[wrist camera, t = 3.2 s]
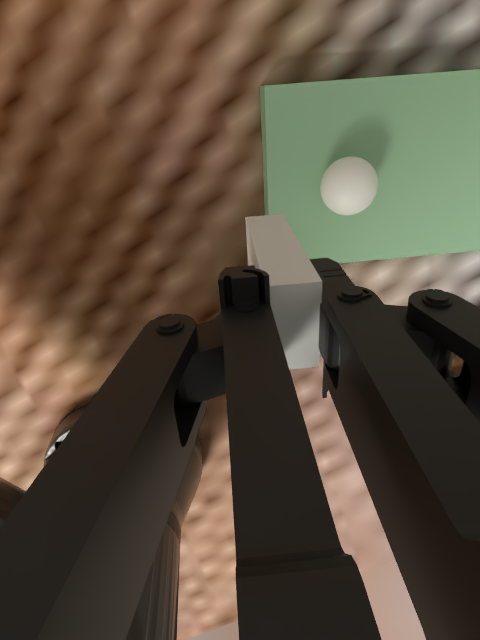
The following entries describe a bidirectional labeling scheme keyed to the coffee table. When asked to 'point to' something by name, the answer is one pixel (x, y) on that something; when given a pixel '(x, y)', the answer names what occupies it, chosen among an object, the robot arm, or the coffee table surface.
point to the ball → (349, 185)
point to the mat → (377, 162)
